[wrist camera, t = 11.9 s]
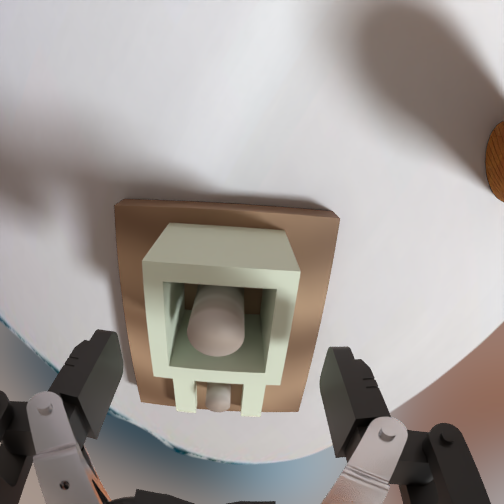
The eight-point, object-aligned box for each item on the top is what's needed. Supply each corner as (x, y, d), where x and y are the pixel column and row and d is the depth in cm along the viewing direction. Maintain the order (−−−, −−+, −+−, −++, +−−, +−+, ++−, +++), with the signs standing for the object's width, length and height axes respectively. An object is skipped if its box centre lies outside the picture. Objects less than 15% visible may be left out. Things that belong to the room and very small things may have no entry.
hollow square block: (169, 222, 16) (142, 260, 12) (284, 230, 17) (300, 271, 12) (178, 401, 21) (168, 455, 17) (259, 406, 22) (263, 461, 17)
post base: (123, 199, 17) (70, 236, 11) (332, 211, 18) (375, 254, 12) (145, 388, 23) (126, 452, 17) (295, 398, 23) (307, 464, 17)
